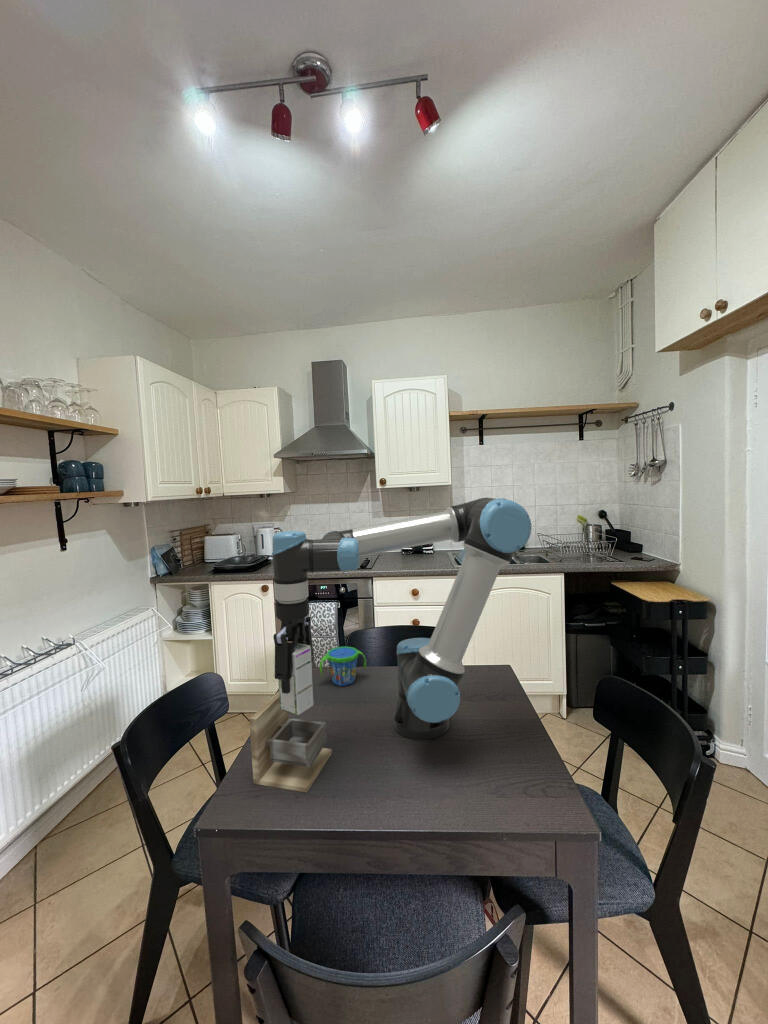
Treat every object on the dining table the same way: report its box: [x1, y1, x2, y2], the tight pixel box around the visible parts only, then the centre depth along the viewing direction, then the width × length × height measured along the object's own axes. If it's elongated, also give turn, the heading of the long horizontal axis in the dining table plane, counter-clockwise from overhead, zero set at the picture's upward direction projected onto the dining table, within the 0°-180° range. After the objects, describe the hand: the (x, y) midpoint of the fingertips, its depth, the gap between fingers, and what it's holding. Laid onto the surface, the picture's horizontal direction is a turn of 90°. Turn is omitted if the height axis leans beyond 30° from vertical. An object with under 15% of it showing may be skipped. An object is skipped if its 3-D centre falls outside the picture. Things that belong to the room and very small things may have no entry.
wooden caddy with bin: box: [248, 690, 333, 793], centre depth 102 cm, size 13×14×15 cm
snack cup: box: [319, 646, 367, 687], centre depth 145 cm, size 16×10×10 cm
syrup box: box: [277, 642, 314, 716], centre depth 101 cm, size 6×6×14 cm
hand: (296, 697), depth 101 cm, fingers closed on syrup box, 7 cm apart
